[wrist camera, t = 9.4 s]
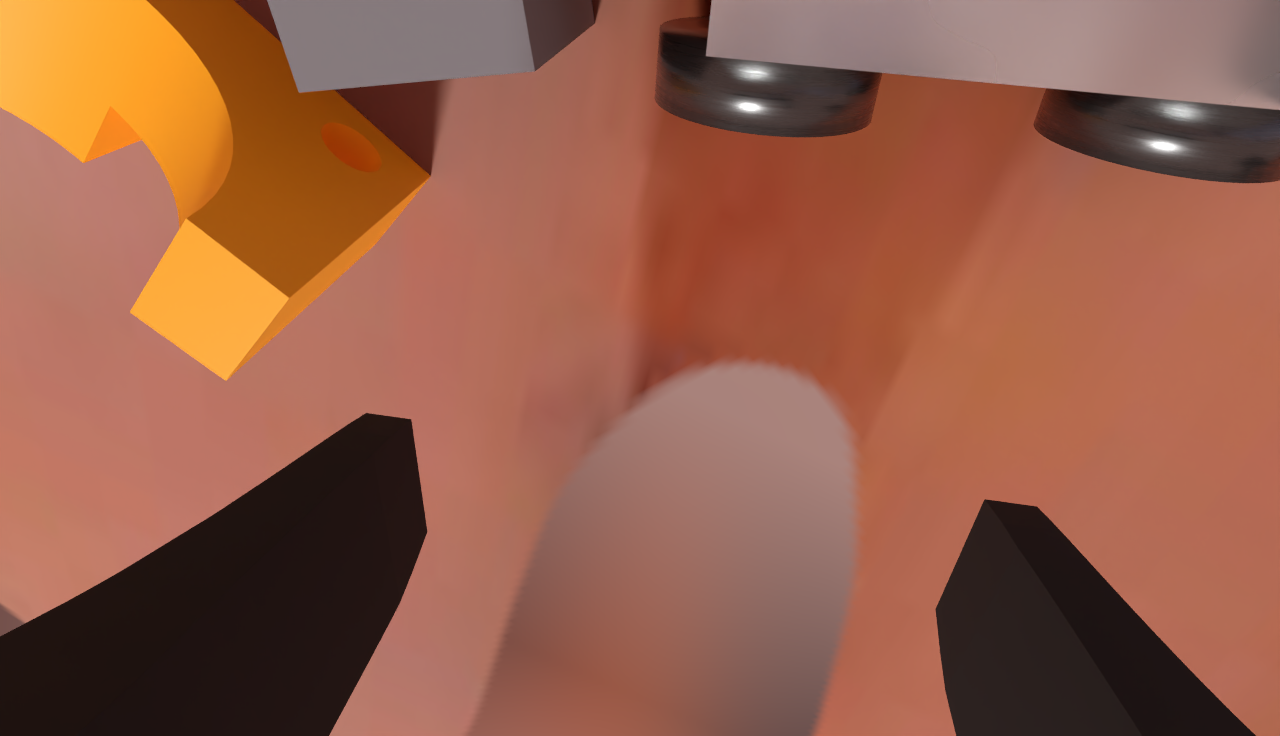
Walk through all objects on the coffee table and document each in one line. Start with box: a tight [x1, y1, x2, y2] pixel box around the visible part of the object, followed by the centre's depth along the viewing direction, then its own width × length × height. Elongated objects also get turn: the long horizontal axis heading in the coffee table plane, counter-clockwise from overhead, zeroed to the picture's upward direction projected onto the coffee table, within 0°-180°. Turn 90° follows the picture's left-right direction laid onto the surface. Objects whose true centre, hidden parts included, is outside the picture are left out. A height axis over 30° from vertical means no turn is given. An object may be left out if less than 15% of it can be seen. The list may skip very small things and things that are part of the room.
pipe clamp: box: [0, 0, 430, 381], centre depth 14 cm, size 12×4×6 cm, turn 46°
